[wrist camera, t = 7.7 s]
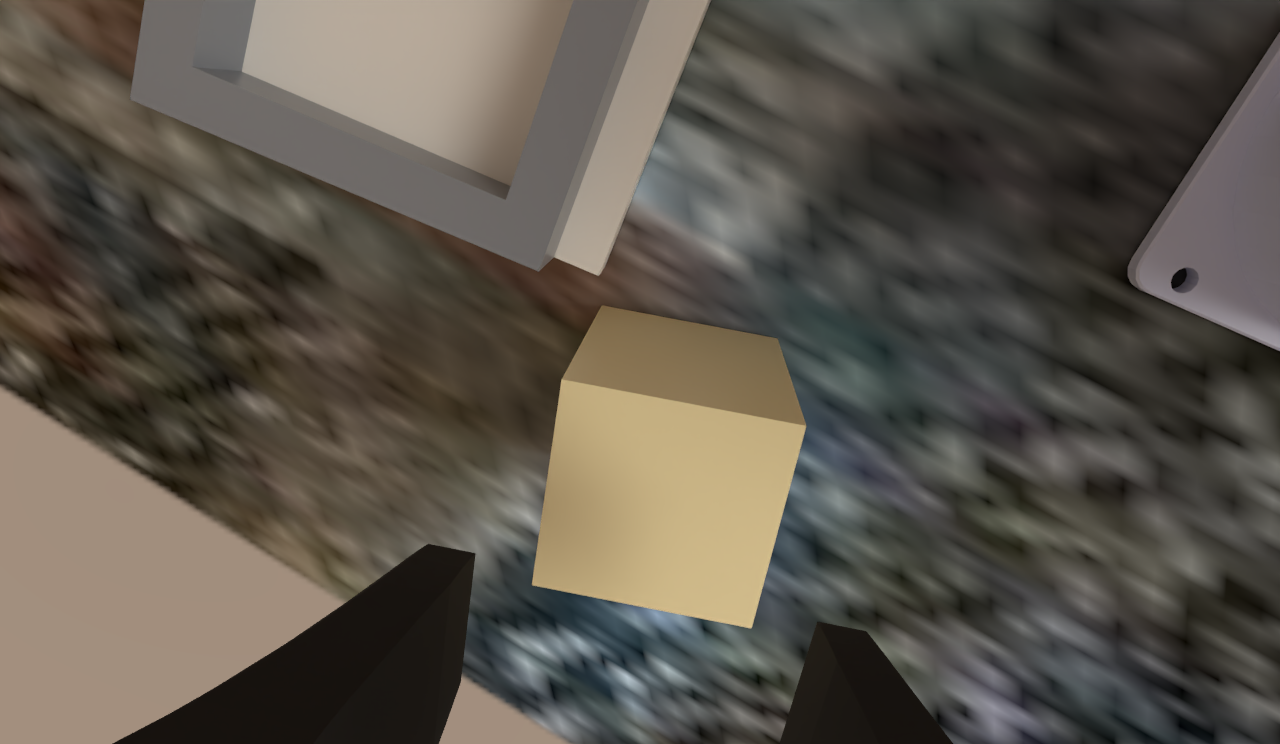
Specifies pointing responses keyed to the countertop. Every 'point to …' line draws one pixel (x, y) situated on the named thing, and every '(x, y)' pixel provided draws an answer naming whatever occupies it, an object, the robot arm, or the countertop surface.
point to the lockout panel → (437, 104)
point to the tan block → (669, 467)
